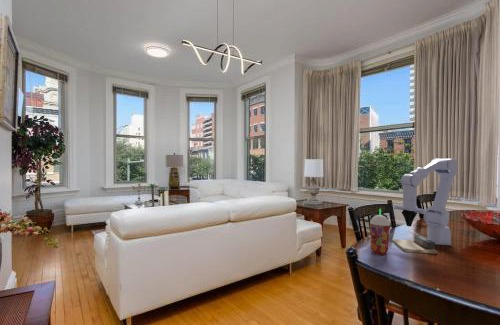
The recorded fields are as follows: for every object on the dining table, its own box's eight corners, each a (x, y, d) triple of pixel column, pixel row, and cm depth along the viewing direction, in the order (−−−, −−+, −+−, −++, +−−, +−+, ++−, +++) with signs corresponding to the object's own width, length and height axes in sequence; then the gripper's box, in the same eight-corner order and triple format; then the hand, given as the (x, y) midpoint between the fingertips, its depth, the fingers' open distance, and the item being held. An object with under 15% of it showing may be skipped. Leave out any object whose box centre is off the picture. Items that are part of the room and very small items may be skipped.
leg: (412, 240, 136) (412, 233, 136) (420, 240, 136) (420, 234, 136) (426, 248, 124) (426, 241, 124) (434, 248, 123) (435, 241, 123)
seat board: (421, 243, 137) (421, 240, 137) (437, 253, 121) (437, 250, 121) (391, 241, 140) (391, 238, 140) (403, 251, 124) (403, 248, 124)
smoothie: (387, 251, 124) (388, 208, 123) (391, 257, 116) (392, 211, 116) (368, 249, 126) (369, 206, 126) (370, 254, 118) (371, 209, 118)
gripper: (390, 197, 136) (390, 223, 136) (420, 201, 124) (420, 230, 124) (398, 196, 140) (398, 222, 140) (428, 200, 127) (428, 228, 128)
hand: (409, 226), depth 132 cm, fingers closed
